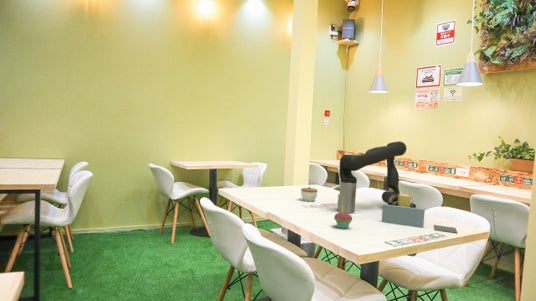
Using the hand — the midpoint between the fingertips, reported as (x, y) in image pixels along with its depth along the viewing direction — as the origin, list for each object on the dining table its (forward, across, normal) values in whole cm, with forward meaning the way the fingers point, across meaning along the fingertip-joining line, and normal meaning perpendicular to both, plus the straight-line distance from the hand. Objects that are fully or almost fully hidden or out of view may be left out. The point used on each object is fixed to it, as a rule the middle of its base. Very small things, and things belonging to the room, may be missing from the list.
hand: (404, 207), depth 186 cm
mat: (+10, +18, +8) cm, 21 cm away
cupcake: (+23, -34, +8) cm, 42 cm away
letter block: (-2, 0, +8) cm, 8 cm away
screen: (+6, -2, +8) cm, 10 cm away
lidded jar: (-40, -51, +8) cm, 65 cm away
